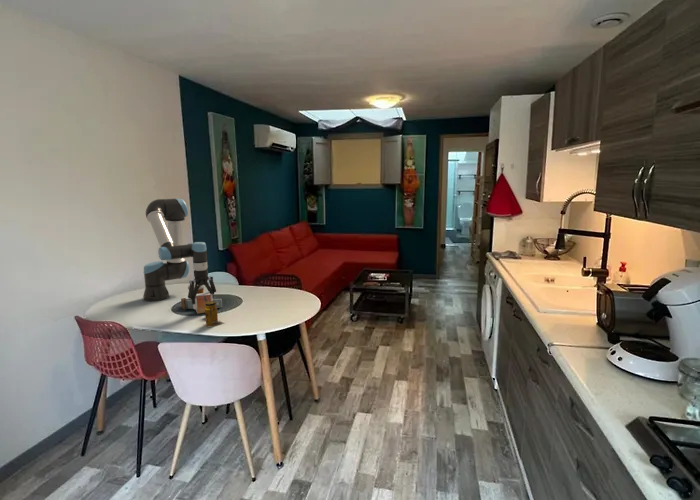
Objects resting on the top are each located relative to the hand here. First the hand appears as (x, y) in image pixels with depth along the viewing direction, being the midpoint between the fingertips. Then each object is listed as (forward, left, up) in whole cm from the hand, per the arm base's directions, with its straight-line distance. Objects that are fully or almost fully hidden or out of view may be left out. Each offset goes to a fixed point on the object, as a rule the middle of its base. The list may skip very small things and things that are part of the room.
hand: (203, 306), depth 222 cm
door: (-4, +3, -3) cm, 6 cm away
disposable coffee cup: (-17, +7, -3) cm, 19 cm away
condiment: (+22, -9, -3) cm, 24 cm away
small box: (0, 0, -3) cm, 3 cm away
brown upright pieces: (-1, -3, -3) cm, 4 cm away
